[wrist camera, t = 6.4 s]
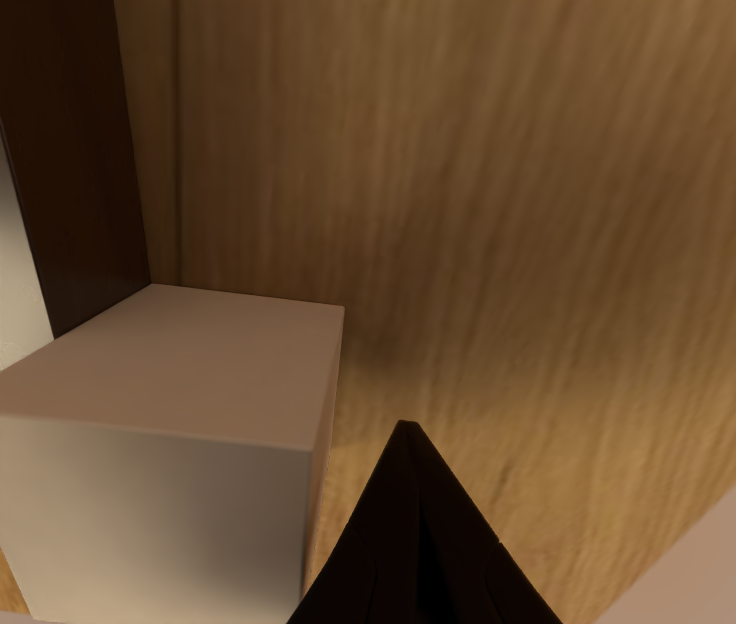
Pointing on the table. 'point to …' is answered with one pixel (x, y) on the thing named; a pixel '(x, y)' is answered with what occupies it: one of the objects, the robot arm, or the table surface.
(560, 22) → the table surface
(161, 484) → the cream block
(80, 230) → the straightedge
